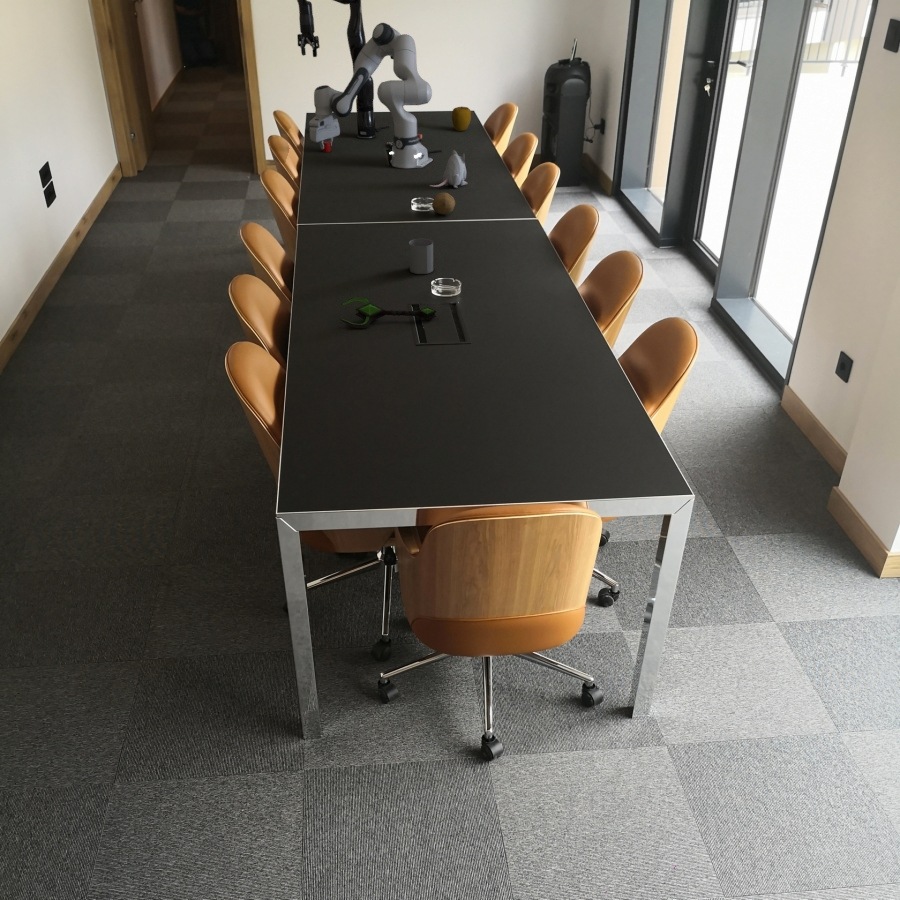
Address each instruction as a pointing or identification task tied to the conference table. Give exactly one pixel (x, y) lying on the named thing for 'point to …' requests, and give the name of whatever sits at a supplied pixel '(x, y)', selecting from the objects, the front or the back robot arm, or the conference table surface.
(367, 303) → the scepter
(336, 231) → the conference table surface
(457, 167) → the toy
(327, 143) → the tin
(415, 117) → the front robot arm
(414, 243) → the cup
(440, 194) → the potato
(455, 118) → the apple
